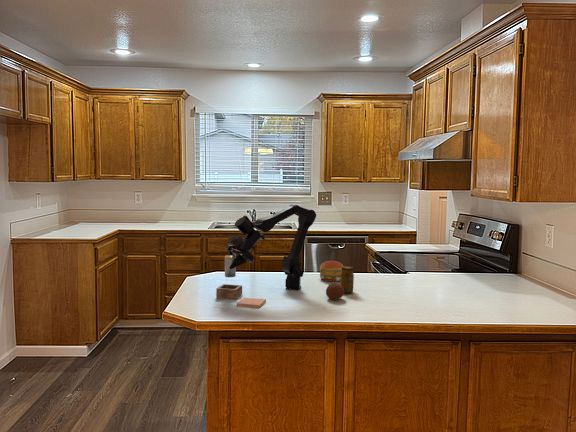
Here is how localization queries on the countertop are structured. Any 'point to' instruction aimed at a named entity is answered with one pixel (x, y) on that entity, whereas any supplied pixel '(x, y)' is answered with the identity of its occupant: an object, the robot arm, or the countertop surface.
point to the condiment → (347, 280)
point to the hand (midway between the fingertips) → (227, 267)
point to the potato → (334, 291)
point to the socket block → (229, 291)
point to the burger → (331, 271)
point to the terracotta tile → (251, 302)
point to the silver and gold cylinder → (228, 262)
